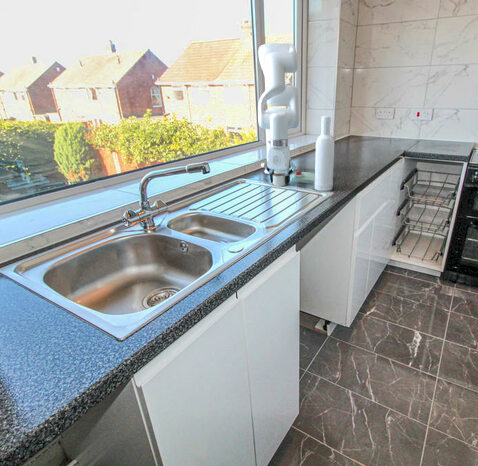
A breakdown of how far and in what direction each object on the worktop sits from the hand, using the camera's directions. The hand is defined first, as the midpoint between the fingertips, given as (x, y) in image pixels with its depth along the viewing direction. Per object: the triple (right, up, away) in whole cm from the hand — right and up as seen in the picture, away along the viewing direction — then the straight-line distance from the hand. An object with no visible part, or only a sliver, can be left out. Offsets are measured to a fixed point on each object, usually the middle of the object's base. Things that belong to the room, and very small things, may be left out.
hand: (280, 182), depth 151 cm
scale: (+16, +3, +8) cm, 18 cm away
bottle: (+19, -4, -6) cm, 21 cm away
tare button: (+9, +5, +6) cm, 11 cm away
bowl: (0, -1, 0) cm, 1 cm away
